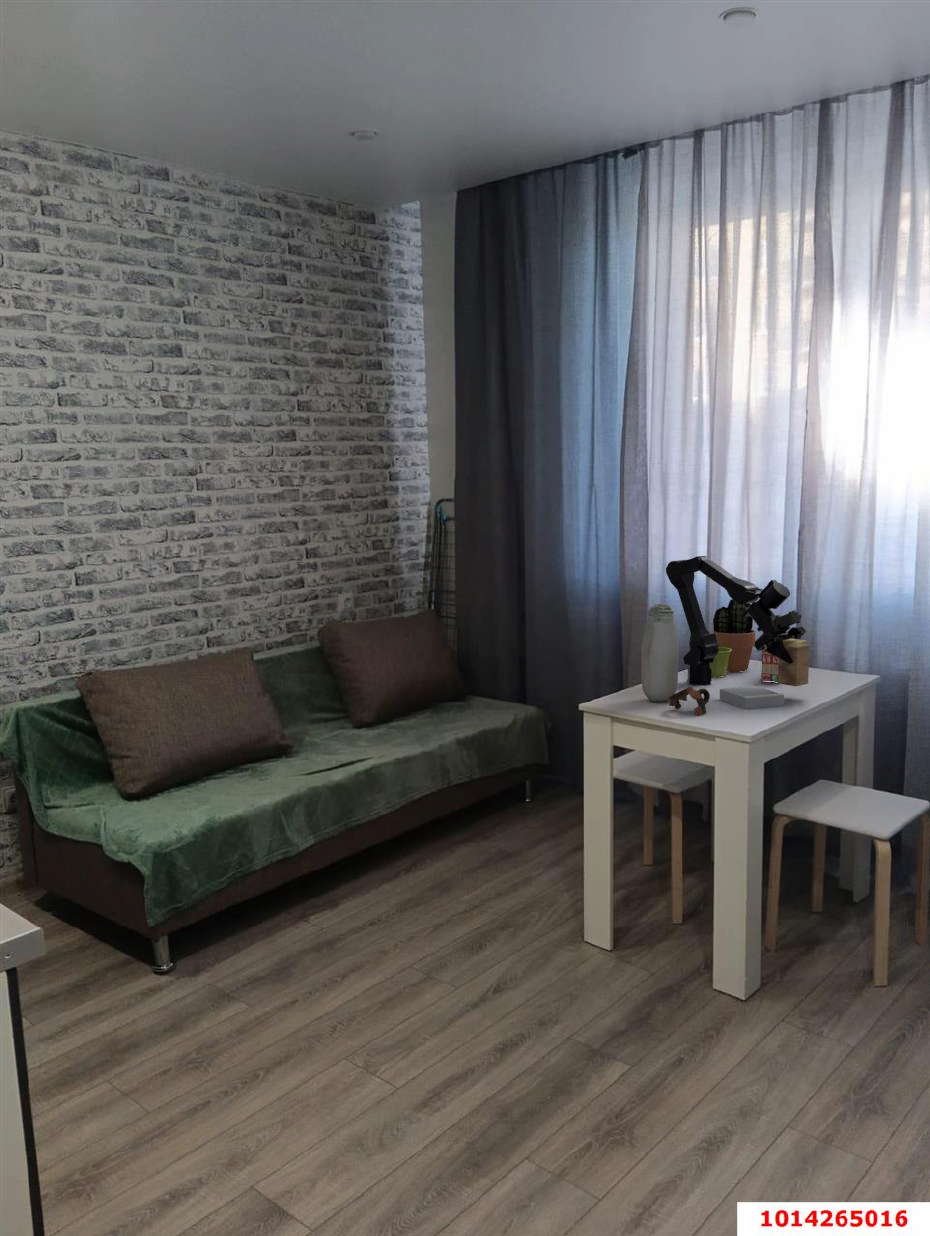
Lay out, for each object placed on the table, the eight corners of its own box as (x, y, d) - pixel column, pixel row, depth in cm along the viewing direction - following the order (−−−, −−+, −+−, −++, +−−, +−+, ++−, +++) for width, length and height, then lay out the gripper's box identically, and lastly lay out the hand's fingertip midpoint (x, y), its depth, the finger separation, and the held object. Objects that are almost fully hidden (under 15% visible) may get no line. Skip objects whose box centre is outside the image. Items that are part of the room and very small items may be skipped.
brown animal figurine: (692, 720, 279) (677, 692, 281) (673, 728, 288) (658, 702, 289) (723, 703, 285) (708, 676, 286) (703, 712, 293) (689, 686, 295)
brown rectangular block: (777, 683, 301) (779, 640, 299) (789, 680, 305) (790, 638, 303) (796, 686, 296) (797, 642, 294) (808, 683, 300) (809, 640, 298)
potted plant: (727, 664, 356) (728, 591, 353) (763, 669, 346) (764, 594, 343) (704, 670, 347) (705, 595, 344) (740, 675, 337) (741, 598, 334)
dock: (719, 699, 302) (719, 687, 302) (756, 695, 306) (756, 684, 305) (745, 708, 289) (745, 697, 289) (783, 705, 292) (784, 694, 292)
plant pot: (736, 677, 334) (736, 650, 333) (708, 679, 332) (708, 652, 331) (724, 672, 343) (724, 646, 342) (696, 673, 341) (697, 647, 340)
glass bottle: (666, 705, 294) (667, 607, 291) (635, 701, 301) (635, 604, 297) (684, 700, 302) (685, 603, 298) (653, 695, 309) (653, 601, 305)
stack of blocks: (780, 671, 344) (781, 634, 342) (799, 673, 341) (800, 635, 339) (760, 682, 326) (761, 643, 324) (781, 684, 323) (781, 644, 321)
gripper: (764, 604, 294) (798, 647, 287) (801, 598, 306) (834, 640, 299) (740, 629, 301) (772, 672, 294) (777, 622, 313) (808, 663, 306)
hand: (797, 661), depth 298 cm, fingers closed on brown rectangular block, 6 cm apart
